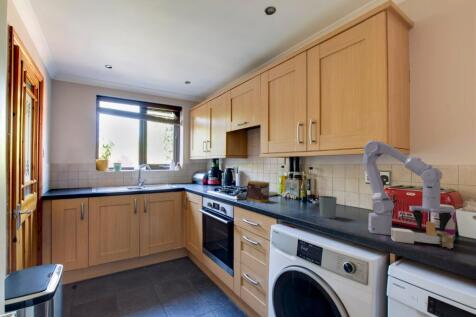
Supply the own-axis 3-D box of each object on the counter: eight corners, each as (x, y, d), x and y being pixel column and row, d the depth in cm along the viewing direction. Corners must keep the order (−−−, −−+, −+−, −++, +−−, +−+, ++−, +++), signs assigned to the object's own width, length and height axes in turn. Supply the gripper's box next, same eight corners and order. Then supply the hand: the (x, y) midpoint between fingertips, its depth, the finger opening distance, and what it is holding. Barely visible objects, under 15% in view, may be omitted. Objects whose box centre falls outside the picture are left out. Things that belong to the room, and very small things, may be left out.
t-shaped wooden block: (404, 240, 100) (405, 220, 100) (402, 237, 103) (402, 219, 103) (448, 245, 95) (449, 224, 95) (444, 242, 98) (445, 222, 98)
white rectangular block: (394, 241, 100) (394, 230, 100) (391, 238, 105) (391, 227, 105) (413, 243, 98) (414, 232, 98) (409, 240, 102) (410, 229, 102)
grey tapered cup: (337, 219, 136) (338, 198, 136) (319, 218, 138) (320, 197, 138) (334, 215, 146) (334, 196, 146) (317, 214, 148) (317, 195, 148)
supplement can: (454, 239, 106) (455, 205, 106) (455, 243, 99) (455, 208, 100) (431, 234, 111) (431, 203, 111) (430, 238, 105) (430, 205, 105)
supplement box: (260, 202, 184) (261, 182, 184) (246, 199, 195) (247, 181, 195) (269, 201, 191) (269, 182, 191) (255, 198, 202) (255, 180, 202)
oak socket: (442, 247, 94) (442, 235, 94) (435, 242, 100) (435, 230, 100) (452, 248, 93) (453, 236, 93) (445, 243, 99) (445, 231, 99)
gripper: (414, 197, 97) (413, 230, 97) (458, 199, 92) (457, 234, 92) (408, 194, 103) (407, 225, 103) (448, 197, 99) (448, 229, 99)
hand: (430, 229), depth 98 cm, fingers open, 7 cm apart
